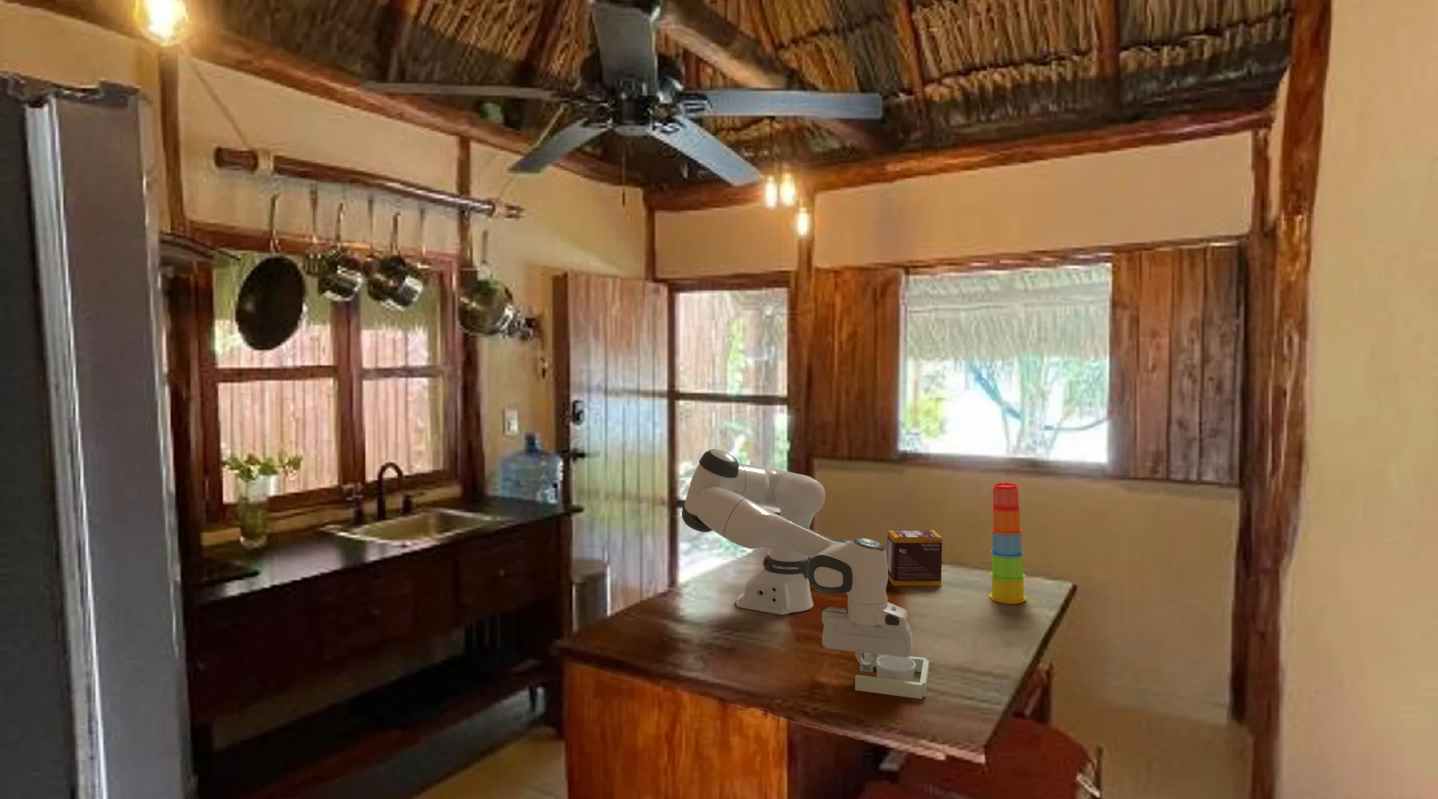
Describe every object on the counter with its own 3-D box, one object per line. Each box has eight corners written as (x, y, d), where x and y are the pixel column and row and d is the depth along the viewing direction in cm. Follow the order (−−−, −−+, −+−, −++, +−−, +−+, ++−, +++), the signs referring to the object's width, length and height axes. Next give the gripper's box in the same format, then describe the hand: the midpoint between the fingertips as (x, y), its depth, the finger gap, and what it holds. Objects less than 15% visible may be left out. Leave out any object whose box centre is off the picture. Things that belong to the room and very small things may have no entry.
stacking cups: (1026, 605, 227) (1029, 487, 224) (989, 602, 230) (991, 485, 228) (1025, 595, 236) (1027, 481, 234) (989, 592, 240) (991, 480, 237)
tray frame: (855, 690, 171) (855, 676, 171) (864, 663, 186) (864, 651, 185) (924, 699, 166) (925, 685, 166) (929, 671, 181) (929, 658, 181)
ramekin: (907, 693, 169) (907, 673, 169) (868, 683, 174) (869, 664, 174) (921, 679, 177) (921, 660, 176) (884, 670, 182) (884, 651, 181)
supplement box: (942, 586, 246) (942, 537, 245) (893, 586, 246) (893, 537, 245) (933, 576, 256) (934, 529, 255) (886, 576, 257) (887, 529, 256)
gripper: (819, 610, 177) (818, 670, 178) (911, 620, 171) (910, 682, 171) (824, 602, 183) (823, 659, 184) (914, 611, 176) (913, 671, 177)
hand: (866, 670), depth 178 cm, fingers closed
